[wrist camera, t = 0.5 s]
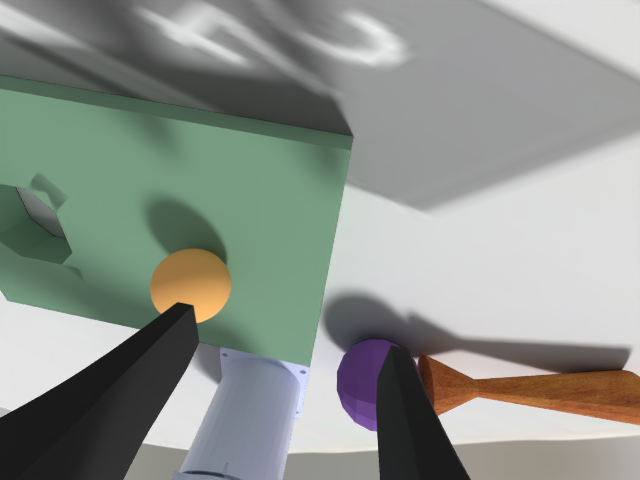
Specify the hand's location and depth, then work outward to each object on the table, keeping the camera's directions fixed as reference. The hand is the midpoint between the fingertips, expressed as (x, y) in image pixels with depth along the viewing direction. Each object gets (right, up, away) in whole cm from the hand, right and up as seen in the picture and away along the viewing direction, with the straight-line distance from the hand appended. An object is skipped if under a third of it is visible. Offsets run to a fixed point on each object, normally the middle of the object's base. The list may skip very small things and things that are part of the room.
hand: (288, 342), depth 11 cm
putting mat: (-10, +5, +9) cm, 14 cm away
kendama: (+13, -5, +12) cm, 18 cm away
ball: (-6, +1, +5) cm, 8 cm away
